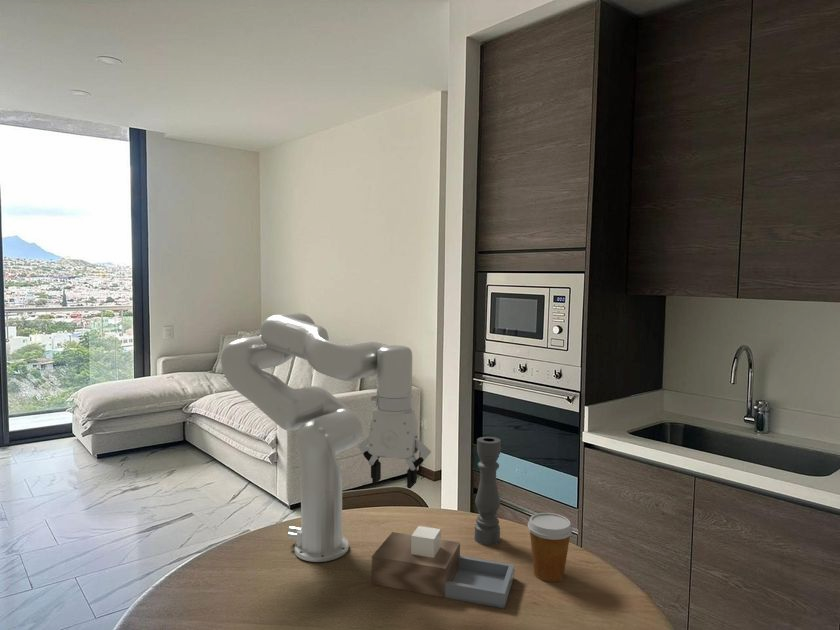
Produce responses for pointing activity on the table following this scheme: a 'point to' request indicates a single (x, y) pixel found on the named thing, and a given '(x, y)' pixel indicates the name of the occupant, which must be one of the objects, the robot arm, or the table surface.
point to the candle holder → (487, 492)
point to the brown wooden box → (414, 566)
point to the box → (481, 582)
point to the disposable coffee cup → (549, 545)
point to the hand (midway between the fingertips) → (393, 483)
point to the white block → (425, 541)
